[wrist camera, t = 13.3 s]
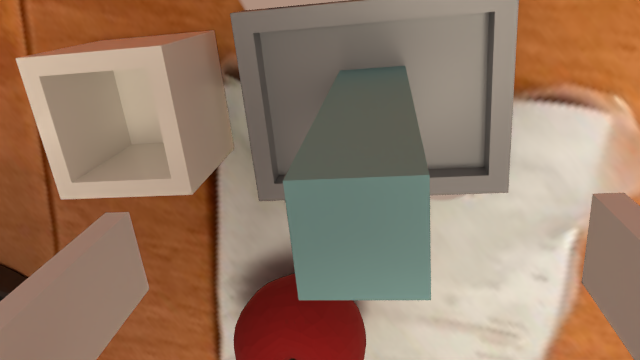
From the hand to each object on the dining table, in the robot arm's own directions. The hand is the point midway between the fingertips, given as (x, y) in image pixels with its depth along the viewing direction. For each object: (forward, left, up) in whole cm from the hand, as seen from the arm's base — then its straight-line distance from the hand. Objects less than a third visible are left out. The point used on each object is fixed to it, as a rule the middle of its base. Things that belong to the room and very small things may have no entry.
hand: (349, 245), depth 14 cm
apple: (-6, -16, -19) cm, 26 cm away
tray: (0, 0, -19) cm, 19 cm away
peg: (0, 0, -18) cm, 18 cm away
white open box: (-14, +1, -19) cm, 23 cm away
